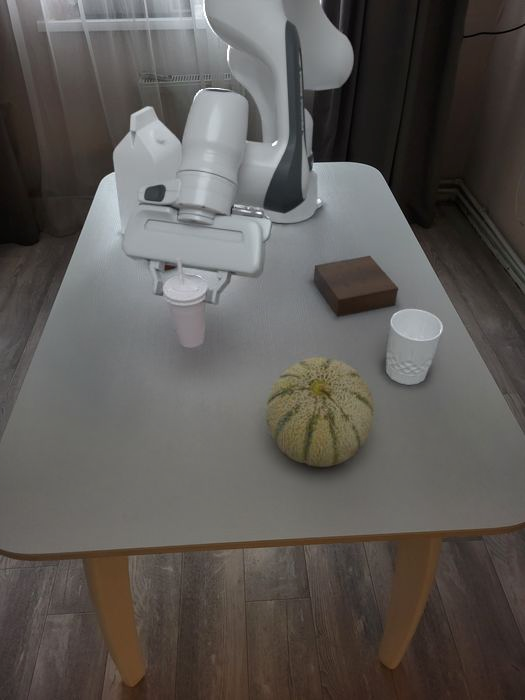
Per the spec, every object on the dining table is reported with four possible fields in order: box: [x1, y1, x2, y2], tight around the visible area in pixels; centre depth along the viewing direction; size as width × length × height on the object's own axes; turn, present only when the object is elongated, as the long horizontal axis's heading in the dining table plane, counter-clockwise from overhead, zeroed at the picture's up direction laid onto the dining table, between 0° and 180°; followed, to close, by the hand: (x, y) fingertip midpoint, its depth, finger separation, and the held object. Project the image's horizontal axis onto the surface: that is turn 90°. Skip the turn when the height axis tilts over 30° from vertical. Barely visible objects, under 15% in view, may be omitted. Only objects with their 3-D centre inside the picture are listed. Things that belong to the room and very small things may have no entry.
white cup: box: [385, 308, 444, 386], centre depth 89 cm, size 8×8×10 cm
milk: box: [112, 105, 182, 235], centre depth 120 cm, size 12×12×26 cm
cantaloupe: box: [265, 356, 375, 468], centre depth 75 cm, size 15×15×15 cm
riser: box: [313, 255, 399, 318], centre depth 108 cm, size 12×12×4 cm
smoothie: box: [162, 258, 210, 348], centre depth 79 cm, size 6×6×14 cm
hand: (184, 299), depth 78 cm, fingers closed on smoothie, 6 cm apart
